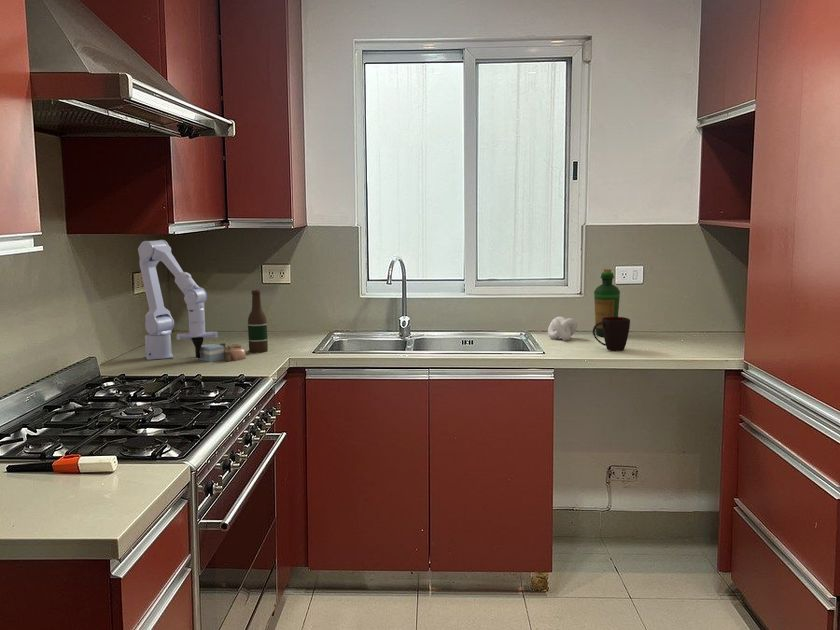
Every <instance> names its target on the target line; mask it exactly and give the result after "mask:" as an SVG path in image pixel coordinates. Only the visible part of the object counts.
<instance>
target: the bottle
mask: <svg viewBox="0 0 840 630" xmlns="http://www.w3.org/2000/svg"><path fill="white" fill-rule="evenodd" d="M600 279H601V284H600V285H598V286H597V287H596V288H595V290H594V291H593V295H594V300H593V301H594V318H595V319H594V321H595V322H594V323H595V325H596V324H597V323H599V322H602V318H605V317H619V308H620V298H621V291H620V289H619V287H617V286H616V285H615V284H613V281H614V280H613V279H615V276H614V272H612V269H610V268H605V269H603V272H601V275H600ZM595 325H594V326H595ZM595 335H596V337H600V338H604V334H603V327H602V324H600V325H598V326H597V327H596V329H595Z"/></svg>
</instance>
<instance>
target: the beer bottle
mask: <svg viewBox="0 0 840 630" xmlns="http://www.w3.org/2000/svg"><path fill="white" fill-rule="evenodd" d="M261 293H262V292H261V290H260V289H253V290H251V300H252V301H251V310H250V312H249V314H248V318H247V331H248V332H247V333H248V351H249V353H254V354H256V353H257V354H259V353H266V352H268V349H269V345H268V343H269V342H268V323H267V322H268V320H267V316H266V314H265V313H264V311H263V308H262V302H261V301H262V300H261Z"/></svg>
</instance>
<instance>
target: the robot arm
mask: <svg viewBox="0 0 840 630" xmlns="http://www.w3.org/2000/svg"><path fill="white" fill-rule="evenodd" d="M137 252H138V256H139V262H138V263H139V269H140V273H141V276H142V277H141V278H142V282H143V286H144V287H143V288H144V291H145V295H146V300H147V305H148V306H147V307H148V311H147V312H146V314H145V316H144V317H145V318H144V319H145V324H144V326H145V327H144V328H145V331H146V332H147V334H146V335H144V342H145V343H144V344H145V345H144V346H145V349H144V355H145V358H146V361H149V360H161V359H174V355H173V353H172V339H171V337H172V336H171V334H172V331H173V329H174V328H175V320H174V318H173V317H172V314H171V311H170V310H169V309H167V308H166V307H165V304H164V298H163V295H162V289H161V286H160V280H159V277H158V272H157V265H158V264H159V262H162V263H163V264H164V265H165V266H166V268H167V269H168V270H169V272H170V273H171V274H172V275H173V276H174V283H175V284H176V286H177V287H178V288H179V290H180V291H181V292H182V294H183V295H184V297H183V301H184V302H185V304H186V309H187V311H188V315H187V316H188V332H184V333H176V340H177V341H180V340H191V341H192V343H193V345H194V349H195V348H196V356H195V358H196V359H198V358H200V348H201V346H202V345H203V343H204V339H211V338H215V339H216V338H219V333H218V331H206V315H205V303H206V302H207V300H208V293H207V291H206V289H205V288H204V287H201V286H199V285H198V284H197V283H196V282H195V280H194V279H193V278H192V274H190V273H189V272H186V271H183V269H182V268H181V266H180V264H179V263H178V260H176V257H175V256H174V255H173V253H172V248H171V246H170V245H169V243H168V242H167V241H166V240H165V239H159V240H144V241H142V242H140V244H139V246H138V248H137Z"/></svg>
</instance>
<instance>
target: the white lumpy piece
mask: <svg viewBox="0 0 840 630" xmlns="http://www.w3.org/2000/svg"><path fill="white" fill-rule="evenodd" d="M577 329H578V322H577V321H576V319H574V318H571V317H569V318H565V317H564V316H557V317H554V318H553V319H552V320H551V322H550V324H549V325H548V328H547V335H548V337H549V338H550V339H551V340H558V339H559V338H561V339H562V341H563V340H564V341H565V342H566V341H567V342H568V341H569V340H570V339H571V337H572V336H573V335H574V334H575V333H576V331H577Z"/></svg>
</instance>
